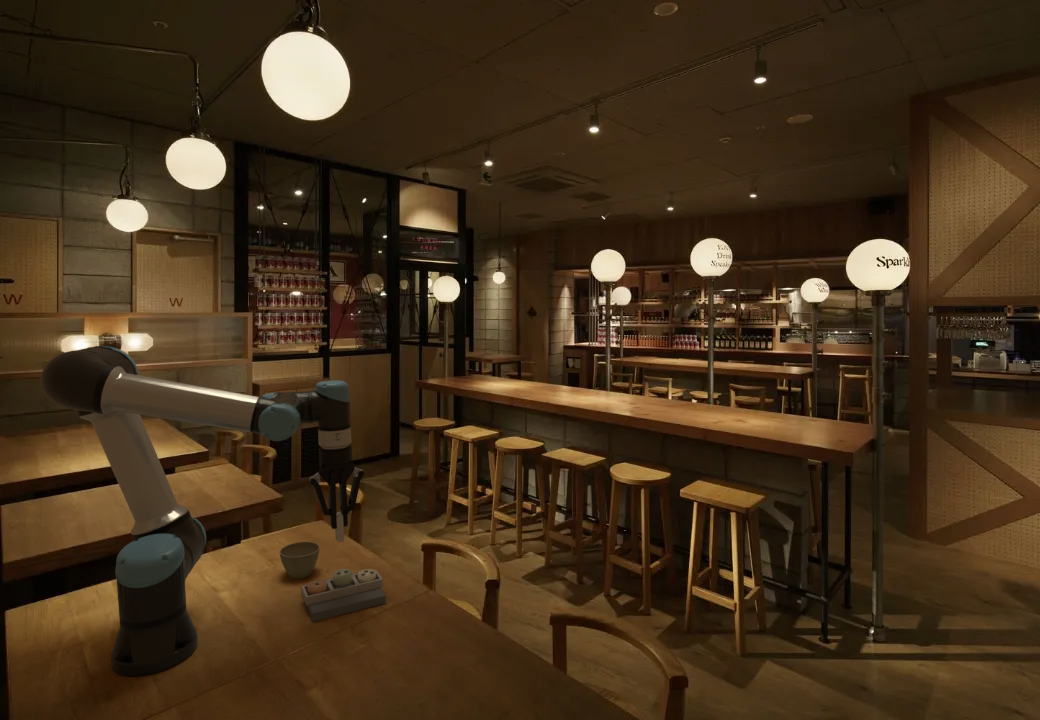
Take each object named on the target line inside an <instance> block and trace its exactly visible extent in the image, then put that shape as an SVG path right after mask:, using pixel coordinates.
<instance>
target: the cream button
mask: <svg viewBox="0 0 1040 720" xmlns="http://www.w3.org/2000/svg"><path fill="white" fill-rule="evenodd" d="M357 573H358V583H359V584H361V583H365V582H369V581H374V580H376V571H375V569H373V568H364V569H362V570H359V571H358V572H357Z"/></svg>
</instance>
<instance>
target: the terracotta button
mask: <svg viewBox="0 0 1040 720" xmlns="http://www.w3.org/2000/svg"><path fill="white" fill-rule="evenodd" d="M324 580H325V579H324ZM324 580H323V579H315V580H313V581H310V582H309V583H307V584H308V596H310V595H314V594H318V593H323V592H327V582H326V581H324Z"/></svg>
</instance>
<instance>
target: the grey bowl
mask: <svg viewBox="0 0 1040 720" xmlns="http://www.w3.org/2000/svg"><path fill="white" fill-rule="evenodd" d="M320 548H321V547H320V545H319V544H318V543H317V542H315V541H314V542H313V541H298V542H292V543H289V544H287V545H285V546H283V547H281V549H280V550H279V557H280V561H281V563H282V564H281V565H282V566H283V568H284V570H285V572H286V573H287V575H289V577H290V578H291V579H294V580H299V579H304V578H307V577H309V576H310V575H311V573H312V571H314V568H315V567H316V564H317V561H318V558H319V555H320Z"/></svg>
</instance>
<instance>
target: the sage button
mask: <svg viewBox="0 0 1040 720" xmlns="http://www.w3.org/2000/svg"><path fill="white" fill-rule="evenodd" d="M352 572H353V571H352V570H351V569H349V568H340V569H337V570H335V571H333V572H332V578H333V585H334V586H336V587H345V586H348V585H350V584H351V583H352V574H353V573H352Z"/></svg>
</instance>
